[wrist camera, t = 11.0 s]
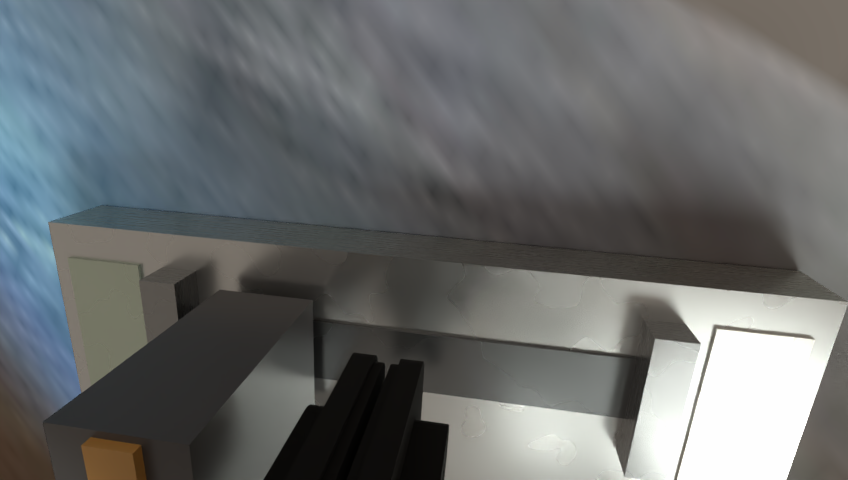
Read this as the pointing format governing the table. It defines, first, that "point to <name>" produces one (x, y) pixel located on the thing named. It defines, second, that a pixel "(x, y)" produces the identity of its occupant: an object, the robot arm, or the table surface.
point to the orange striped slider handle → (195, 397)
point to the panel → (492, 336)
